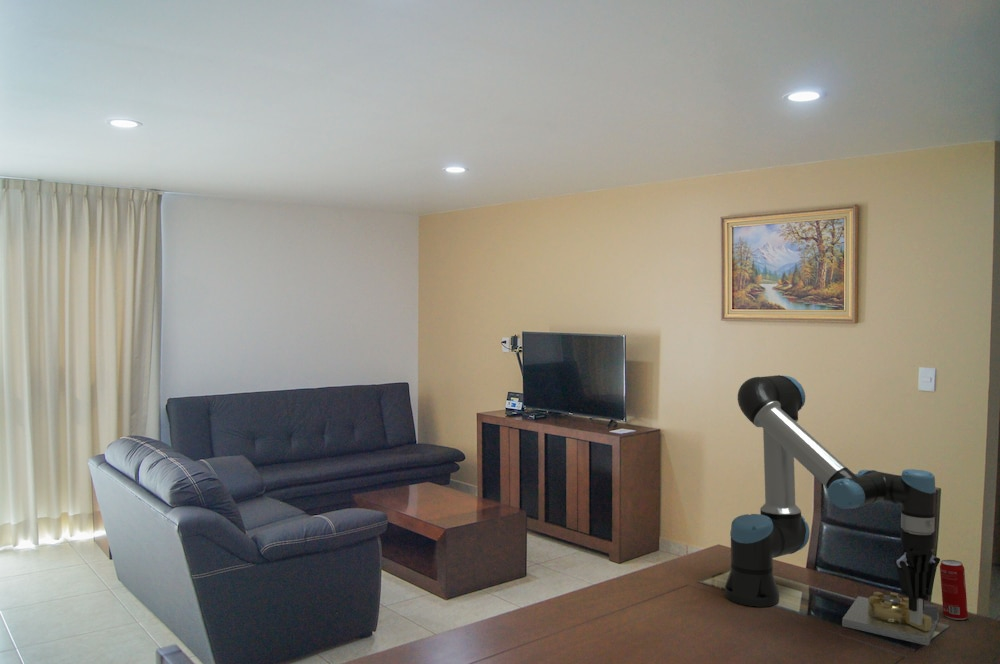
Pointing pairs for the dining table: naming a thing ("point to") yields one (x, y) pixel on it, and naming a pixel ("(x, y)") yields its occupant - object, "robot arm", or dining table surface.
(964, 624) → the dining table surface
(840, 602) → the dining table surface
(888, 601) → the gold knob with handle
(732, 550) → the robot arm
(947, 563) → the beverage can
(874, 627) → the flange plate
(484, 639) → the dining table surface
